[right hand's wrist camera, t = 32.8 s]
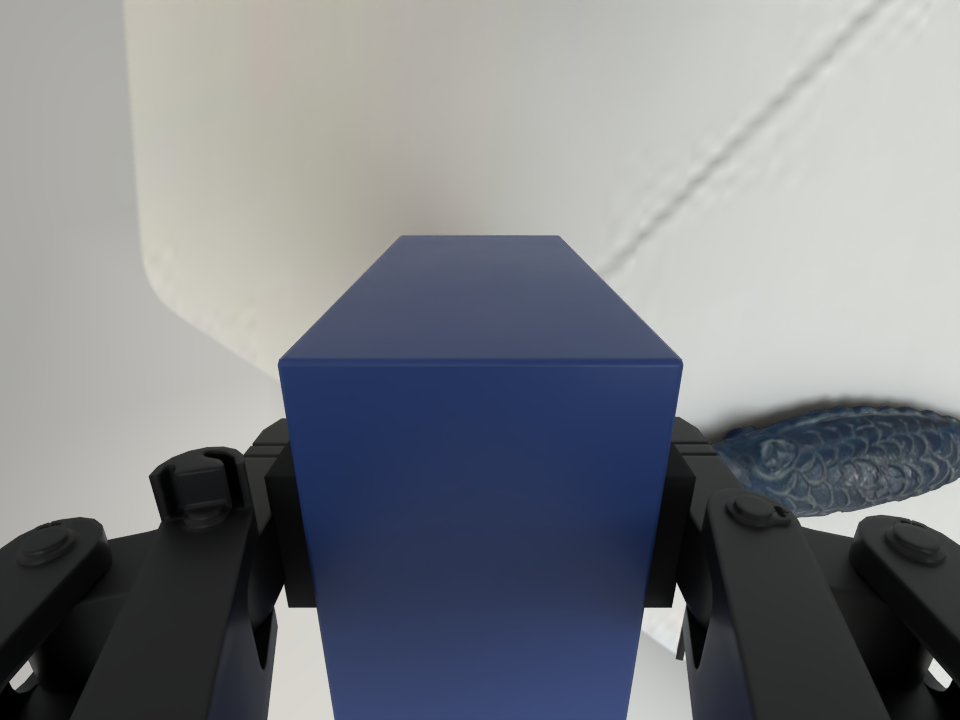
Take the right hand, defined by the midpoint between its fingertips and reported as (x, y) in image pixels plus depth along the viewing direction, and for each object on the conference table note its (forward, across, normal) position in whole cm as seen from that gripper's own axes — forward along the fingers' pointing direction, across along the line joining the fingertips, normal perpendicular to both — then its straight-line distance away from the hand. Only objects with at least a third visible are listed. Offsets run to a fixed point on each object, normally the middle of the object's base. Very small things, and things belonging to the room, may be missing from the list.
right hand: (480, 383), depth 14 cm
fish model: (+17, +22, -12) cm, 30 cm away
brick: (+4, 0, 0) cm, 4 cm away
